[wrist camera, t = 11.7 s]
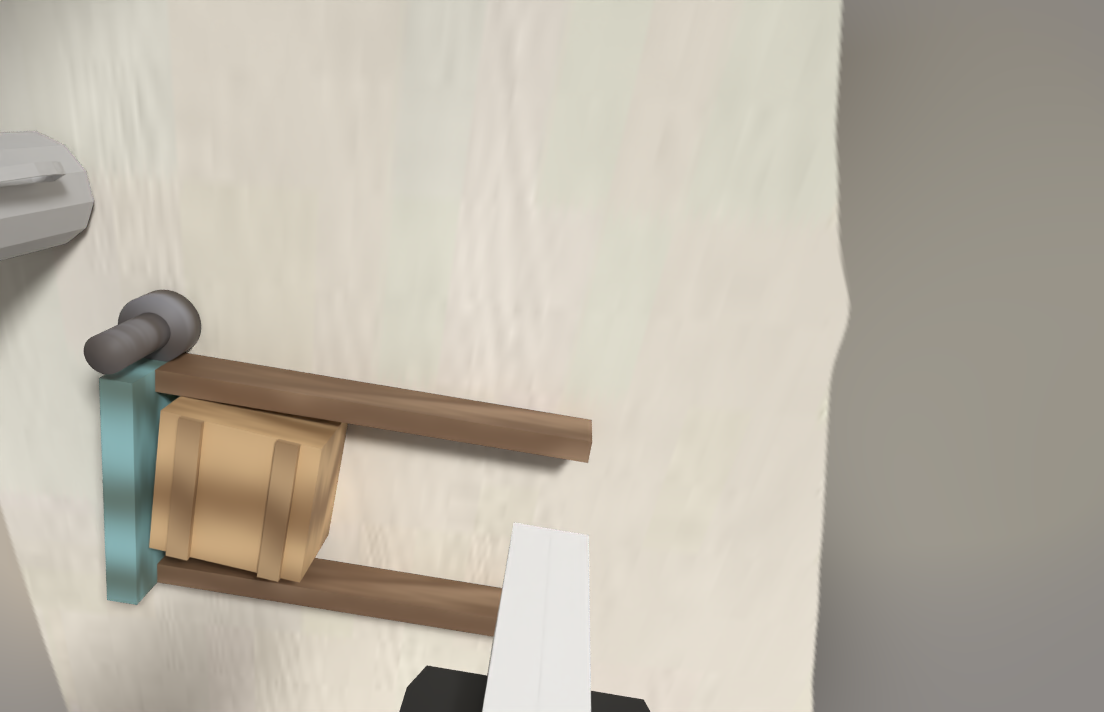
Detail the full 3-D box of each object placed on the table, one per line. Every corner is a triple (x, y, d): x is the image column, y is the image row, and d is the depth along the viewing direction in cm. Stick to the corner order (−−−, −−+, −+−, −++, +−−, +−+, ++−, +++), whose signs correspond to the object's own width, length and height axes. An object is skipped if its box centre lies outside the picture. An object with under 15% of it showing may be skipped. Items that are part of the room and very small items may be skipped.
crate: (207, 376, 51) (157, 412, 45) (350, 411, 51) (319, 452, 45) (194, 501, 54) (145, 550, 48) (329, 533, 55) (297, 586, 49)
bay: (135, 284, 49) (64, 312, 42) (602, 362, 49) (605, 402, 43) (140, 546, 55) (79, 606, 49) (553, 613, 56) (549, 682, 49)
